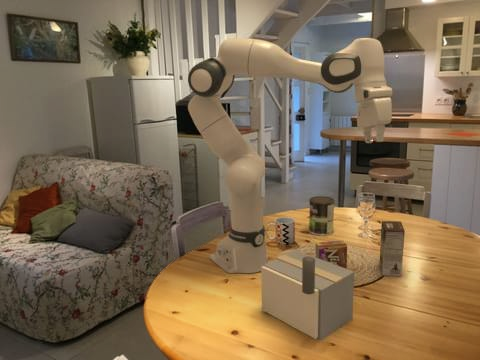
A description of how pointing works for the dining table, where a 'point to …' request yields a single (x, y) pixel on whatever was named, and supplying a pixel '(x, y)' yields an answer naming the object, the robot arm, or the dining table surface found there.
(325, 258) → the candy box
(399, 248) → the coffee box
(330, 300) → the carton
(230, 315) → the dining table surface
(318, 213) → the coffee can
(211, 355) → the dining table surface
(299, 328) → the flap
